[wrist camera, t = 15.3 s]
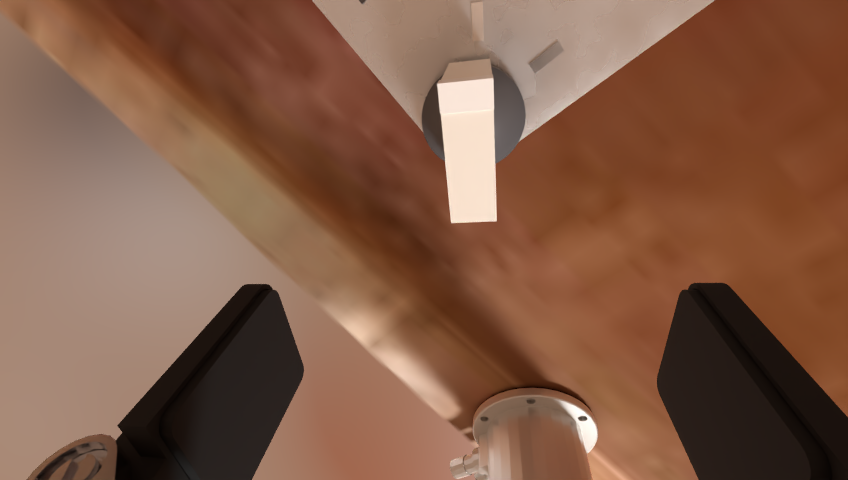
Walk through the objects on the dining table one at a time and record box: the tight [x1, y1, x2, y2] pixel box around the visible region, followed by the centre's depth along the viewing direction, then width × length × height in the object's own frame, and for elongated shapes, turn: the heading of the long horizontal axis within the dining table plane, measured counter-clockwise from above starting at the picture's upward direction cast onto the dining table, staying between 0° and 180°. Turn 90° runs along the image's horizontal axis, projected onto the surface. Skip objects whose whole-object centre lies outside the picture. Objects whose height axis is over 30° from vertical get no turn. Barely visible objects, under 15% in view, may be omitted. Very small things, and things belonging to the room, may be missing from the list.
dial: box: [422, 59, 526, 223], centre depth 20 cm, size 6×6×7 cm
